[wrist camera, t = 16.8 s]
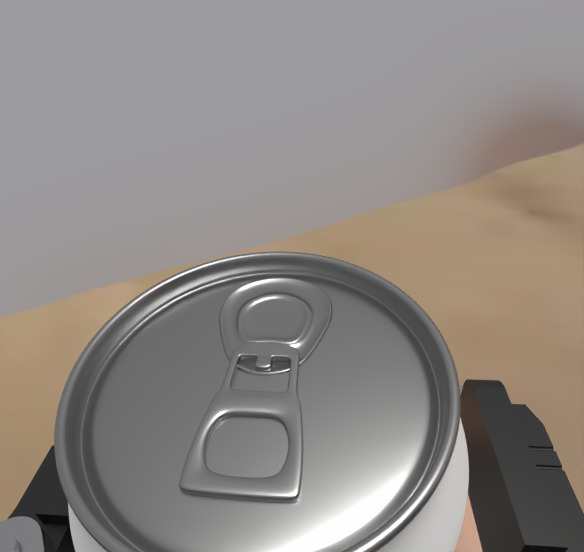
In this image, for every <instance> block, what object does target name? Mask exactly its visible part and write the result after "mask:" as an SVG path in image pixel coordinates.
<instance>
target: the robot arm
mask: <svg viewBox="0 0 584 552" xmlns="http://www.w3.org/2000/svg"><path fill="white" fill-rule="evenodd" d="M460 402H461V409H460V418H461V422H462V425H463V429H464V433H465V438H466V444H467V450H468V461H469V484H468V495H469V499H470V503H471V507H472V511H473V515H474V519H475V523H476V527H477V531H478V535H479V539H480V543H481V547H482V551H483V552H584V513H583V511H582V509H581V507H580V505H579V502H578V500H577V498H576V496H575V494H574V491H573V489H572V487H571V485H570V483H569V480H568V478H567V476H566V474H565V471H563V470H562V465H561V463H560V460H559V458H558V456H557V454H556V452H555V451H554V450H553V445H552V443H551V441H550V438H549V436H548V434H547V432H546V430H545V427H544V425H543V424H542V423H541V421H540V420H539V419H538V418H537V417H536V416H535V415H534V414H533V413H532V412H531V411H530V409H529V408H528V407H527V406H526V405H521V404H511V402H510V400H509V397H508V395H507V392H506V390H505V387H504V385H503V384H502V383H501V382H500V381H498V380H466V381H465V383H464V385H463V389H462V392H461V395H460ZM0 552H75V549H74V545H73V540H72V535H71V530H70V522H69V510H68V501H67V499H66V496H65V494H64V491H63V489H62V486H61V483H60V479H59V475H58V471H57V466H56V460H55V449H54V446H52V447H51V449H50V450H49V452H48V454H47V456H46V457H45V459H44V461H43V462H42V464H41V466H40V468H39V469H38V471H37V473H36V474H35V476H34V478H33V479H32V481H31V483H30V485H29V486H28V488H27V490H26V491H25V493H24V495H23V497H22V498H21V500H20V502H19V503H18V505H17V507H16V508H15V510H14V511H13V513H12V514H11V515H10V516H9V518H8V519H7V520H4V521H2V522H0Z"/></svg>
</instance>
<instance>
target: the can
mask: <svg viewBox="0 0 584 552" xmlns="http://www.w3.org/2000/svg"><path fill="white" fill-rule="evenodd" d="M460 409H461V402H460V388H459V381H458V376H457V371H456V368H455V364H454V361H453V358H452V355H451V353H450V350H449V348H448V346H447V344H446V342H445V340H444V338H443V336H442V334H441V333H440V331H439V330H438V328H437V327H436V325H435V324H434V322H433V321H432V320H431V318H430V317H429V316H428V315H427V313H426V312H425V311H424V310H423V309H422V308H421V307H420V306H419V305H418V304H417V303H416V302H415V301H414V300H413V299H412V298H411V297H410V296H408V295H407V294H406V293H405V292H404V291H402V290H401V289H400V288H398V287H397V286H395V285H394V284H392V283H391V282H389V281H388V280H386V279H384V278H382V277H381V276H379V275H377V274H375V273H373V272H371V271H369V270H367V269H364V268H362V267H359V266H357V265H354V264H351V263H348V262H345V261H342V260H338V259H335V258H331V257H326V256H321V255H315V254H308V253H299V252H259V253H250V254H242V255H236V256H231V257H226V258H222V259H218V260H214V261H210V262H207V263H204V264H201V265H198V266H195V267H192V268H190V269H187V270H185V271H182V272H180V273H178V274H175V275H173V276H171V277H169V278H167V279H165V280H163V281H161V282H159V283H158V284H156V285H154V286H152V287H151V288H149V289H148V290H146V291H144V292H143V293H141V294H140V295H139V296H137V297H136V298H134V299H133V300H132V301H130V302H129V303H128V304H126V305H125V306H124V307H123V308H122V309H120V310H119V311H118V312H117V313H116V314H115V315H114V316H113V317H111V318H110V319H109V320H108V321H107V322H106V323H105V324H104V326H103V327H102V328H101V329H100V330H99V331H98V332H97V333H96V335H95V336H94V337H93V338H92V340H91V341H90V342H89V343H88V345H87V346H86V348H85V349H84V351H83V352H82V353H81V355H80V357H79V358H78V360H77V362H76V363H75V365H74V367H73V369H72V371H71V373H70V375H69V377H68V379H67V382H66V384H65V387H64V390H63V392H62V396H61V399H60V402H59V406H58V411H57V416H56V423H55V433H54V449H55V460H56V466H57V471H58V475H59V479H60V483H61V486H62V489H63V491H64V494H65V496H66V499H67V501H68V510H69V522H70V530H71V535H72V540H73V545H74V549H75V552H454V550H455V547H456V544H457V542H458V538H459V535H460V532H461V528H462V524H463V519H464V514H465V508H466V502H467V495H468V484H469V461H468V450H467V444H466V438H465V433H464V429H463V425H462V422H461V418H460Z"/></svg>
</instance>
